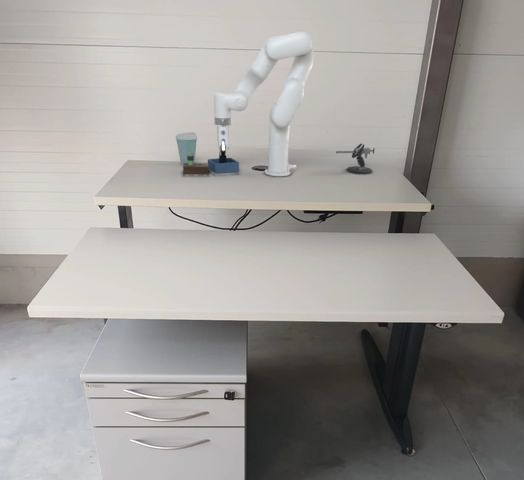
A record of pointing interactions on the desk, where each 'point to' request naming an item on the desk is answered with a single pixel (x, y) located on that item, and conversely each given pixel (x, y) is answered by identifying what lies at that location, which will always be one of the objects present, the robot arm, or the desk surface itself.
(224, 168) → the tote
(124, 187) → the desk surface
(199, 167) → the rack
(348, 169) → the gun turret
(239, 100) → the robot arm
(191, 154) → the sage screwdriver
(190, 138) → the cup of blue liquid
